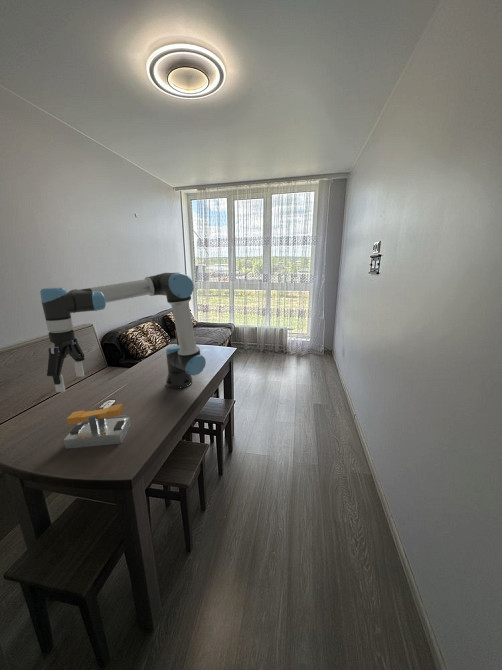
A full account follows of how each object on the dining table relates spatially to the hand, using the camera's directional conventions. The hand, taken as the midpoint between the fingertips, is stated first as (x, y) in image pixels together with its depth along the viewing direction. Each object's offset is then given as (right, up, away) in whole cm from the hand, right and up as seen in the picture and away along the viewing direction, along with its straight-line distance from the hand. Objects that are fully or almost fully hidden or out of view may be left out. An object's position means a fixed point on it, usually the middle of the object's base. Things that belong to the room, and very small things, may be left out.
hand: (71, 383), depth 98 cm
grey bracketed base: (+8, -23, +5) cm, 25 cm away
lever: (+8, -13, +3) cm, 15 cm away
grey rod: (+7, -20, +16) cm, 26 cm away
